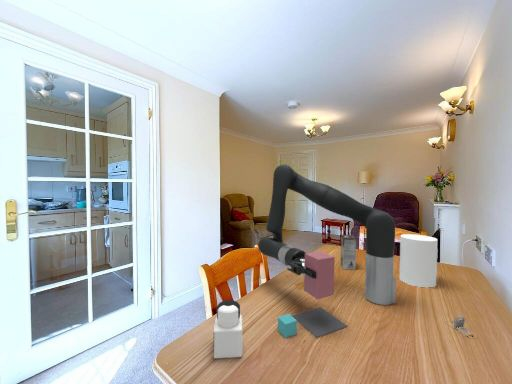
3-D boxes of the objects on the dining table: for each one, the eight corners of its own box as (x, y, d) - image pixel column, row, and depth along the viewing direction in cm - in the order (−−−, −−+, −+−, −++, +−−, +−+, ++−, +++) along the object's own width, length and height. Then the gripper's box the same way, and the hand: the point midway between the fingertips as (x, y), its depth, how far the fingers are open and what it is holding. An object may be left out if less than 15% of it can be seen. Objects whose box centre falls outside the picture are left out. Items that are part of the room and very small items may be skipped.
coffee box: (340, 263, 128) (340, 234, 127) (352, 264, 127) (352, 234, 126) (342, 269, 119) (343, 238, 118) (356, 270, 118) (356, 238, 117)
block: (288, 326, 71) (288, 313, 71) (296, 334, 67) (296, 320, 67) (277, 330, 69) (277, 317, 69) (285, 338, 66) (285, 324, 65)
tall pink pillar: (319, 286, 78) (320, 251, 77) (333, 295, 72) (334, 256, 71) (303, 290, 75) (304, 253, 74) (317, 299, 69) (318, 259, 69)
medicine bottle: (216, 340, 64) (215, 297, 64) (241, 338, 65) (241, 296, 65) (213, 359, 57) (213, 311, 57) (242, 357, 58) (242, 310, 58)
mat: (320, 307, 82) (320, 306, 82) (347, 326, 71) (347, 325, 71) (292, 316, 76) (292, 315, 76) (316, 337, 66) (316, 336, 66)
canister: (402, 284, 101) (404, 239, 100) (396, 273, 113) (398, 233, 112) (441, 290, 96) (442, 242, 95) (430, 278, 108) (431, 235, 107)
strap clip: (478, 339, 66) (479, 324, 66) (469, 339, 66) (469, 325, 65) (450, 321, 74) (451, 308, 74) (442, 322, 74) (442, 309, 74)
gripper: (276, 249, 83) (305, 264, 68) (308, 245, 89) (341, 258, 74) (275, 270, 83) (305, 290, 68) (307, 264, 89) (341, 281, 74)
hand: (324, 273), depth 71 cm, fingers closed on tall pink pillar, 6 cm apart
